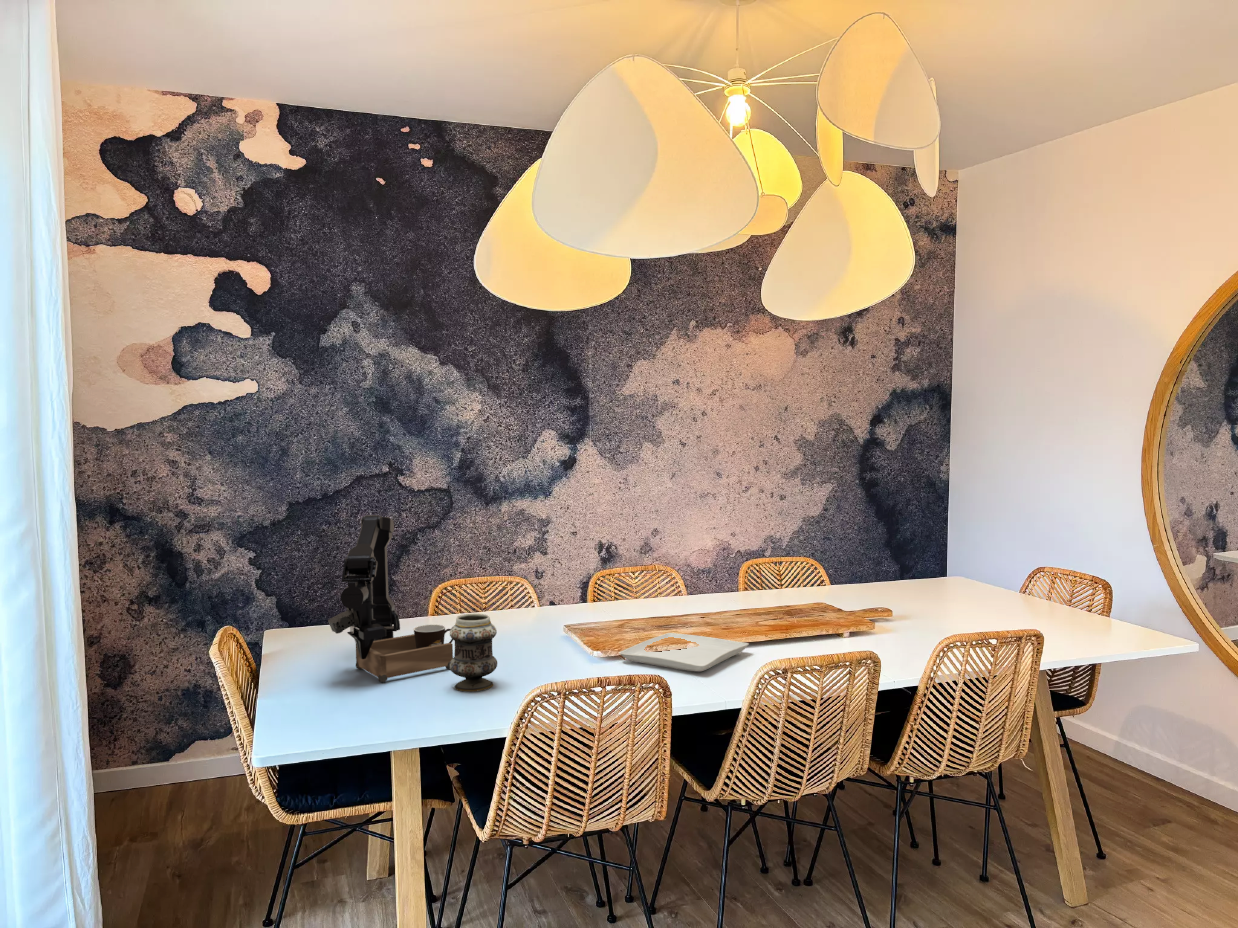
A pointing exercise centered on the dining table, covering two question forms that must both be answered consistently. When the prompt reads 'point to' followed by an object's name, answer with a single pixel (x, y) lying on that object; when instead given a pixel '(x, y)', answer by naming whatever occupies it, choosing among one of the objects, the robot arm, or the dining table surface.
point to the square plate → (686, 652)
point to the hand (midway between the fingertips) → (363, 658)
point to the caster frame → (403, 657)
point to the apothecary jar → (473, 651)
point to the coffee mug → (429, 635)
